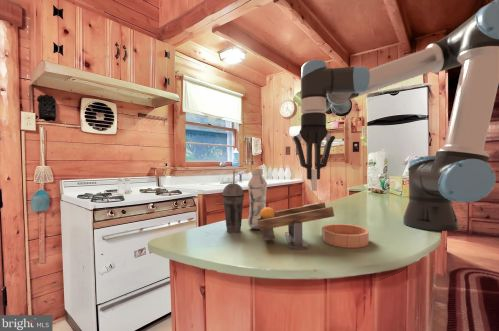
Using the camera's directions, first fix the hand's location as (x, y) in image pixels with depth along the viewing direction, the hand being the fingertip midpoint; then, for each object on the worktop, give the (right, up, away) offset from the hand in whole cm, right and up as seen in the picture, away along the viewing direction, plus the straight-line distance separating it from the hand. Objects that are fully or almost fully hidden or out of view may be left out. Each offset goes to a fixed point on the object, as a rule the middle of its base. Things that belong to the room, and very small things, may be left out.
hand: (313, 190), depth 78 cm
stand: (-7, -14, -7) cm, 17 cm away
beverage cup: (-25, -14, +5) cm, 29 cm away
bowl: (+7, -13, -7) cm, 17 cm away
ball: (-15, -6, -7) cm, 18 cm away
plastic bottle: (-17, -14, +7) cm, 23 cm away
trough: (-7, -11, -4) cm, 13 cm away
